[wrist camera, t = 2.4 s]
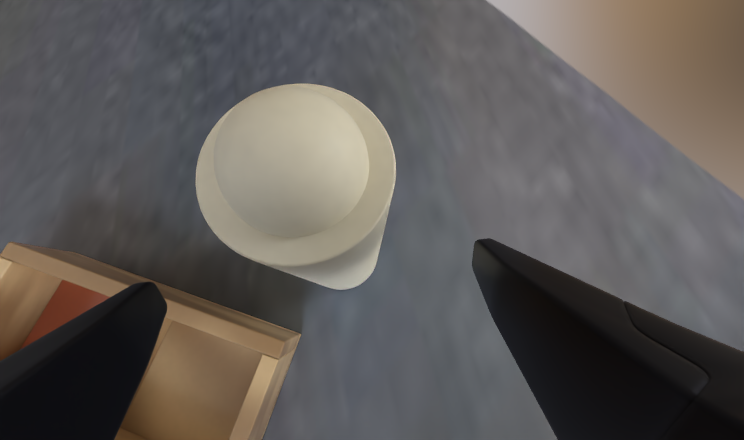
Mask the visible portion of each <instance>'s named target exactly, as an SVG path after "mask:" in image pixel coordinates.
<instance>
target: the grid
mask: <svg viewBox="0 0 744 440" xmlns="http://www.w3.org/2000/svg"><path fill="white" fill-rule="evenodd" d="M0 256H1V257H0V361H1V360H3V359H5V358H6V357H8V356H10V355H11V354H13V353H15V352H17V351H18V350H20V349H22V348H24V347H25V346H27V345H29V344H30V343H32V342H34V341H36V340H37V339H39V338H41V337H43V336H44V335H46V334H48V333H49V332H51V331H53V330H55V329H56V328H58V327H60V326H62V325H63V324H65V323H67V322H68V321H70V320H72V319H74V318H75V317H77V316H79V315H81V314H82V313H84V312H86V311H87V310H89V309H91V308H93V307H94V306H96V305H98V304H100V303H101V302H103V301H105V300H106V299H108V298H110V297H112V296H113V295H115V294H117V293H119V292H120V291H122V290H124V289H125V288H127V287H129V286H131V285H132V284H135V283H140V282H148V281H150V282H153V283H155V284H156V286H157V287H158V289H159V291H160V293H161V294H162V296H163V298H164V299H165V301H166V303H167V313H166V316H165V318H164V321H163V324H162V327H161V330H160V333H159V336H158V339H157V342H156V345H155V348H154V351H153V353H152V356H151V359H150V362H149V364H148V367H147V369H146V371H145V374H144V376H143V378H142V380H141V383H140V385H139V387H138V389H137V391H136V393H135V396H134V398H133V400H132V402H131V404H130V407H129V409H128V411H127V413H126V415H125V417H124V420H123V422H122V424H121V426H120V428H119V431H118V433H117V435H116V437H115V439H114V440H262V438H263V436H264V433H265V430H266V428H267V425H268V422H269V420H270V417H271V414H272V412H273V409H274V406H275V403H276V401H277V398H278V395H279V393H280V390H281V387H282V385H283V382H284V379H285V377H286V374H287V371H288V369H289V366H290V363H291V361H292V358H293V355H294V353H295V350H296V347H297V345H298V342H299V339H300V336H301V334H300V333H297V332H294V331H292V330H289V329H286V328H283V327H281V326H278V325H275V324H272V323H269V322H267V321H264V320H261V319H258V318H256V317H253V316H250V315H247V314H244V313H242V312H239V311H236V310H233V309H231V308H228V307H225V306H222V305H219V304H217V303H214V302H211V301H208V300H206V299H203V298H200V297H197V296H195V295H192V294H189V293H186V292H183V291H181V290H178V289H175V288H172V287H170V286H167V285H164V284H161V283H158V282H156V281H153V280H150V279H147V278H145V277H142V276H139V275H136V274H133V273H131V272H128V271H125V270H122V269H120V268H117V267H114V266H111V265H108V264H106V263H103V262H100V261H97V260H95V259H92V258H89V257H86V256H83V255H81V254H78V253H75V252H70V251H69V252H68V251H63V250H57V249H51V248H45V247H39V246H33V245H27V244H21V243H16V242H9V243H8V244H7V245H6V247H5V248H4V250H3V251H2V253H1V254H0Z"/></svg>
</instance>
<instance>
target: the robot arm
mask: <svg viewBox="0 0 744 440" xmlns="http://www.w3.org/2000/svg"><path fill="white" fill-rule="evenodd" d="M472 267H473V271H474V274H475V276H476V279H477V281H478V284H479V286H480V289H481V291H482V294H483V296H484V299H485V301H486V304H487V306H488V309H489V311H490V313H491V316H492V318H493V320H494V322H495V324H496V326H497V327H498V329H499V331H500V333H501V335H502V337H503V339H504V340H505V342H506V344H507V346H508V348H509V350H510V352H511V353H512V355H513V357H514V359H515V361H516V363H517V365H518V366H519V368H520V370H521V372H522V374H523V376H524V378H525V379H526V381H527V383H528V385H529V387H530V389H531V391H532V392H533V394H534V396H535V398H536V400H537V402H538V404H539V405H540V407H541V409H542V411H543V413H544V415H545V417H546V418H547V420H548V422H549V424H550V426H551V428H552V430H553V431H554V433H555V435H556V437H557V439H558V440H744V352H742V351H740V350H737V349H735V348H733V347H730V346H728V345H725V344H723V343H720V342H718V341H715V340H713V339H711V338H708V337H706V336H703V335H701V334H699V333H696V332H694V331H691V330H689V329H687V328H684V327H682V326H679V325H677V324H675V323H672V322H670V321H668V320H666V319H664V318H661V317H659V316H657V315H655V314H652V313H650V312H648V311H646V310H644V309H641V308H639V307H637V306H635V305H633V304H631V303H629V302H626V301H624V302H623V301H622V299H620V298H618V297H616V296H613V295H611V294H609V293H607V292H605V291H603V290H600V289H598V288H596V287H594V286H592V285H590V284H588V283H585V282H583V281H581V280H579V279H577V278H575V277H572V276H570V275H568V274H566V273H564V272H562V271H560V270H557V269H555V268H553V267H551V266H549V265H547V264H544V263H542V262H540V261H538V260H536V259H534V258H532V257H529V256H527V255H525V254H523V253H521V252H519V251H516V250H514V249H512V248H510V247H508V246H506V245H504V244H501V243H499V242H497V241H495V240H493V239H490V238H488V239H480V240H477V241H475V244H474V251H473V259H472ZM166 313H167V303H166V301H165V299H164V298H163V296H162V294H161V293H160V291H159V289H158V287H157V286H156V284H155V283H153V282H150V281H148V282H140V283H135V284H132V285H131V286H129V287H127V288H125V289H124V290H122V291H120V292H119V293H117V294H115V295H113V296H112V297H110V298H108V299H106V300H105V301H103V302H101V303H100V304H98V305H96V306H94V307H93V308H91V309H89V310H87V311H86V312H84V313H82V314H81V315H79V316H77V317H75V318H74V319H72V320H70V321H68V322H67V323H65V324H63V325H62V326H60V327H58V328H56V329H55V330H53V331H51V332H49V333H48V334H46V335H44V336H43V337H41V338H39V339H37V340H36V341H34V342H32V343H30V344H29V345H27V346H25V347H24V348H22V349H20V350H18V351H17V352H15V353H13V354H11V355H10V356H8V357H6V358H5V359H3V360H1V361H0V440H114V439H115V437H116V435H117V433H118V431H119V428H120V426H121V424H122V422H123V420H124V417H125V415H126V413H127V411H128V409H129V407H130V404H131V402H132V400H133V398H134V396H135V393H136V391H137V389H138V387H139V385H140V383H141V380H142V378H143V376H144V374H145V371H146V369H147V367H148V364H149V362H150V359H151V356H152V353H153V351H154V348H155V345H156V342H157V339H158V336H159V333H160V330H161V327H162V324H163V321H164V318H165V316H166Z"/></svg>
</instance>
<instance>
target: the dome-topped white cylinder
mask: <svg viewBox="0 0 744 440" xmlns="http://www.w3.org/2000/svg"><path fill="white" fill-rule="evenodd" d="M395 178H396V161H395V155H394V150H393V147H392V143H391V140H390V138H389V136H388V134H387V132H386V130H385V128H384V127H383V125H382V124H381V122H380V121H379V119H378V118H377V117H376V116H375V115H374V114H373V113H372V111H371V110H370V109H368V108H367V107H366V106H365V105H364V104H363V103H361V102H360V101H358V100H357V99H355V98H354V97H352V96H350V95H348V94H346V93H344V92H342V91H339V90H336V89H333V88H330V87H326V86H322V85H315V84H288V85H282V86H277V87H272V88H269V89H265V90H262V91H259V92H257V93H255V94H253V95H251V96H249V97H247V98H246V99H244V100H243V101H241V102H239V103H238V104H237V105H236V106H234V107H233V108H232V109H230V110H229V111H228V112H227V113H226V114H225V115H224V116H223V117H222V118H221V119H220V120H219V121H218V122H217V124H216V125H215V126H214V127H213V129H212V130H211V132H210V133H209V135H208V137H207V138H206V140H205V143H204V145H203V147H202V149H201V152H200V155H199V158H198V163H197V168H196V192H197V198H198V202H199V205H200V209H201V211H202V213H203V216H204V218H205V220H206V222H207V223H208V225H209V226H210V228H211V229H212V231H213V232H214V233H215V234H216V236H217V237H218V238H219V239H220V240H221V241H222V242H223V243H224V244H226V245H227V246H228V247H229V248H230V249H232V250H233V251H235V252H237V253H238V254H240V255H242V256H244V257H246V258H248V259H251V260H253V261H255V262H258V263H261V264H264V265H266V266H269V267H272V268H275V269H278V270H281V271H283V272H286V273H289V274H292V275H295V276H297V277H300V278H303V279H306V280H309V281H311V282H314V283H317V284H320V285H323V286H325V287H328V288H332V289H337V290H345V289H350V288H354V287H356V286H358V285H360V284H362V283H363V282H364V281H365V280H366V279H367V278H368V277H369V276H370V275H371V274H372V272H373V270H374V268H375V266H376V263H377V259H378V254H379V250H380V246H381V242H382V237H383V233H384V229H385V225H386V220H387V216H388V212H389V208H390V203H391V199H392V195H393V191H394V186H395Z"/></svg>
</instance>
